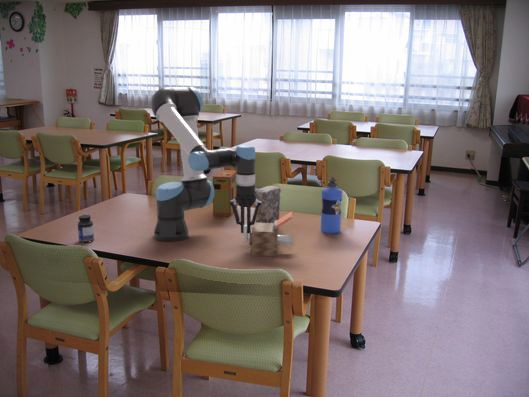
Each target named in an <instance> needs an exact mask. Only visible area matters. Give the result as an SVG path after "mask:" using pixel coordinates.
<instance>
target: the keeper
mask: <svg viewBox="0 0 529 397" xmlns="http://www.w3.org/2000/svg"><path fill="white" fill-rule="evenodd" d="M293 215H294V213H293V211H292V210H291V211H290V212H288V213H286V214H284V215H283V216H282V217H279V220H275V221H274V225H273V230H276V229H277V228H278V227H279V228H280V227H281V226H283V225H284V224H286V223H288V222H289V221H291V220H292V219H293Z"/></svg>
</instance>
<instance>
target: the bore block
mask: <svg viewBox="0 0 529 397" xmlns="http://www.w3.org/2000/svg"><path fill="white" fill-rule="evenodd" d="M273 225H274V223H256V222H255V223H254V225H252V226H253V227H252V228H251V231H252V246H251V256H262V257H265V256H266V257H267V256H268V257H277V256H278V250H279V247H280V246H279V245H280V244H277V235H280V227H278V228H277V229H276V230H273Z"/></svg>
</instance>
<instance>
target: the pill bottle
mask: <svg viewBox="0 0 529 397" xmlns="http://www.w3.org/2000/svg"><path fill="white" fill-rule="evenodd" d="M78 219H79V221H78V222H77V231H78V232H77V233H78V234H77V235H78V242H79V241H80V242H79V243H82V242H89V241H92V242H94V239H95V238H94V237H95V236H94V234H95V233H94V222H93V221H92V220H91V215H89V214H82V215H79V216H78ZM89 243H90V242H89Z"/></svg>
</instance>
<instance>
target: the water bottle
mask: <svg viewBox="0 0 529 397" xmlns="http://www.w3.org/2000/svg"><path fill="white" fill-rule="evenodd" d="M327 180H328V182H327V187H326V188H323V189H321V196H320V197H321V203H322V206H321V211H320V212H321V213H320V232H321V233H322V234H327V235H337V234H340V233H341V226H342V225H341V224H342V208H341V206H342V200H343V189H340V188H338V182H337V181H338V180H337V179H336V177H333V176H331V177H329V179H327Z"/></svg>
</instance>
